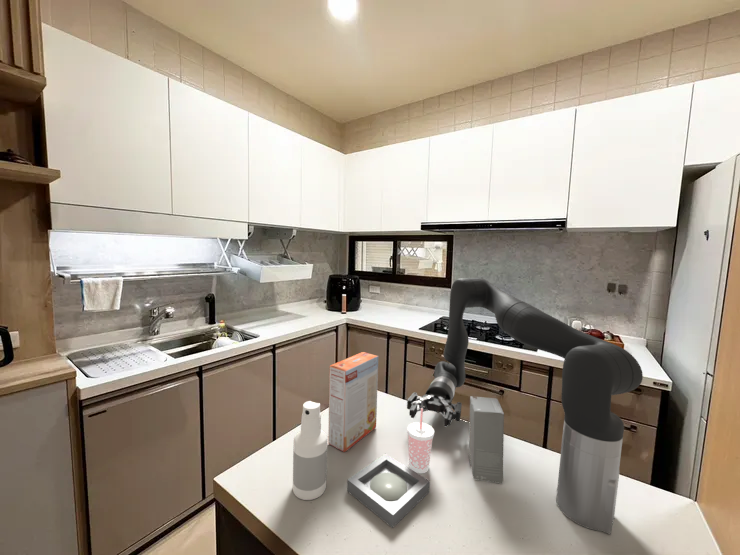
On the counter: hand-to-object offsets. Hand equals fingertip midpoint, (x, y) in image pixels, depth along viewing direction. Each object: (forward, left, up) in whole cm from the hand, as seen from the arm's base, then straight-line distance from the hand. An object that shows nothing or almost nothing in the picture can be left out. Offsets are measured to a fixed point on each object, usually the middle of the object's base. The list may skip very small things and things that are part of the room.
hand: (428, 418), depth 79 cm
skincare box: (-14, -2, -8) cm, 16 cm away
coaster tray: (-3, +19, -8) cm, 20 cm away
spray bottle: (+9, +30, -8) cm, 32 cm away
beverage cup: (-3, +8, -8) cm, 11 cm away
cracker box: (+16, +11, -8) cm, 21 cm away
